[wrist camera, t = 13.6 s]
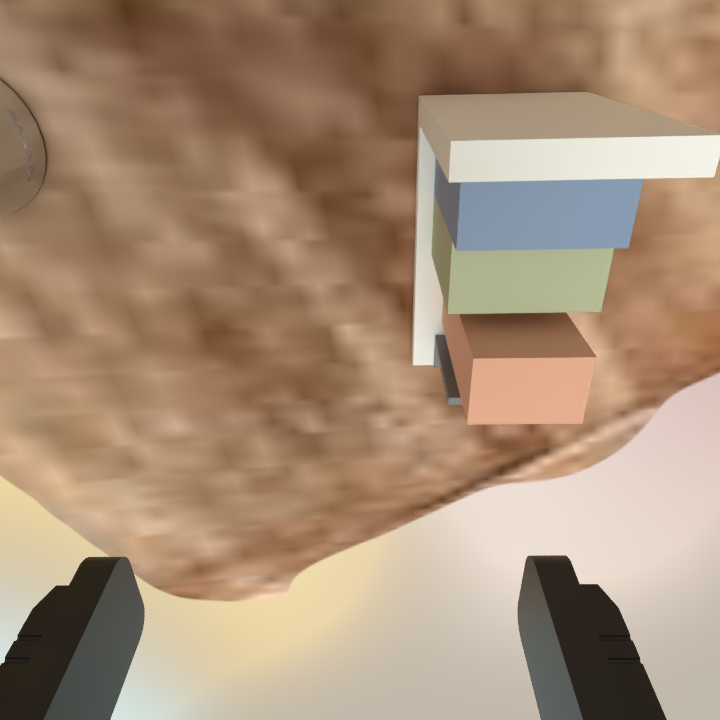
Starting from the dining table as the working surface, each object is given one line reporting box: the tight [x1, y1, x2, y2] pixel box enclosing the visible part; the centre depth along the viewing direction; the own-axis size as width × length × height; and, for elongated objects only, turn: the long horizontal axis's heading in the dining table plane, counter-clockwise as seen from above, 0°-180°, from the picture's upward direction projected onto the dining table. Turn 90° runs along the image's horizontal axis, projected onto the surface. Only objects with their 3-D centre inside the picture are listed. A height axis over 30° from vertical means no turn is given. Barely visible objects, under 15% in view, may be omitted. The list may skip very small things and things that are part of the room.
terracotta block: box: [442, 299, 597, 424], centre depth 34 cm, size 6×4×12 cm, turn 91°
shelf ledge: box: [412, 92, 720, 405], centre depth 32 cm, size 10×18×16 cm, turn 1°
